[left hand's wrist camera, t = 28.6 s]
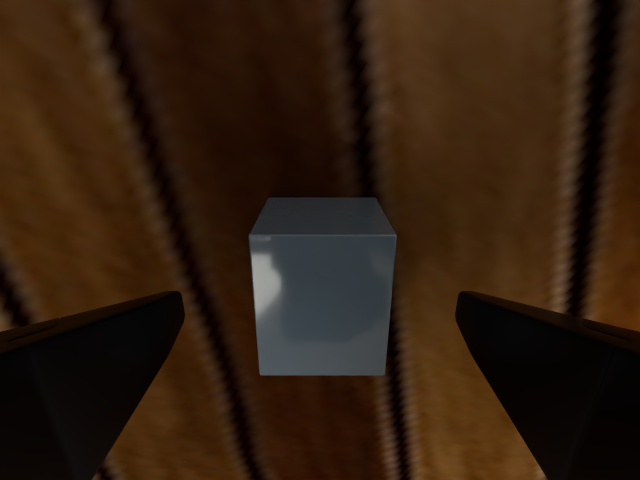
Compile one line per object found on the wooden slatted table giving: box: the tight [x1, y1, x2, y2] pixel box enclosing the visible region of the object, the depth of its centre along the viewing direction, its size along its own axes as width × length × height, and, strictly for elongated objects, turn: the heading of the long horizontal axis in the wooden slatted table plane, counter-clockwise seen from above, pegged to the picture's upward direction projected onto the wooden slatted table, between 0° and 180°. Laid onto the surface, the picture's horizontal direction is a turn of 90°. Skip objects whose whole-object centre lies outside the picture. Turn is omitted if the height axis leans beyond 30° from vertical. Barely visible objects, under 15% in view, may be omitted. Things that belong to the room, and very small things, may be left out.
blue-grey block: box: [248, 198, 397, 375], centre depth 13 cm, size 4×5×4 cm
